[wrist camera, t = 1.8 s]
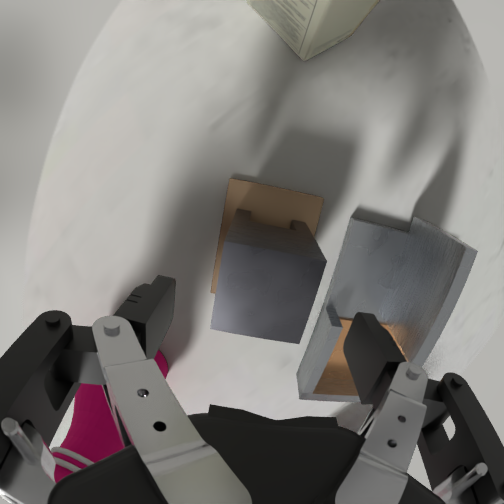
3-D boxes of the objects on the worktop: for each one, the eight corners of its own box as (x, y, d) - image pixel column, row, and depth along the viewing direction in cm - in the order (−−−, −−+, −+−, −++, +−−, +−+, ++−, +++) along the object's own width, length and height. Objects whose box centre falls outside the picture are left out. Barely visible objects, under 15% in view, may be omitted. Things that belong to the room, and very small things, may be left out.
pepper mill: (147, 320, 22) (34, 551, 3) (187, 381, 24) (136, 587, 5) (88, 335, 23) (-20, 505, 4) (129, 389, 25) (62, 554, 6)
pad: (230, 178, 18) (229, 178, 17) (322, 197, 18) (324, 198, 18) (211, 290, 20) (210, 292, 20) (293, 305, 21) (293, 307, 20)
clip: (237, 208, 18) (224, 241, 12) (305, 222, 18) (326, 261, 12) (225, 272, 20) (210, 328, 13) (288, 284, 20) (298, 343, 14)
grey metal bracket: (355, 198, 18) (403, 227, 11) (458, 230, 18) (515, 264, 12) (296, 373, 23) (304, 439, 17) (388, 379, 24) (412, 434, 17)
